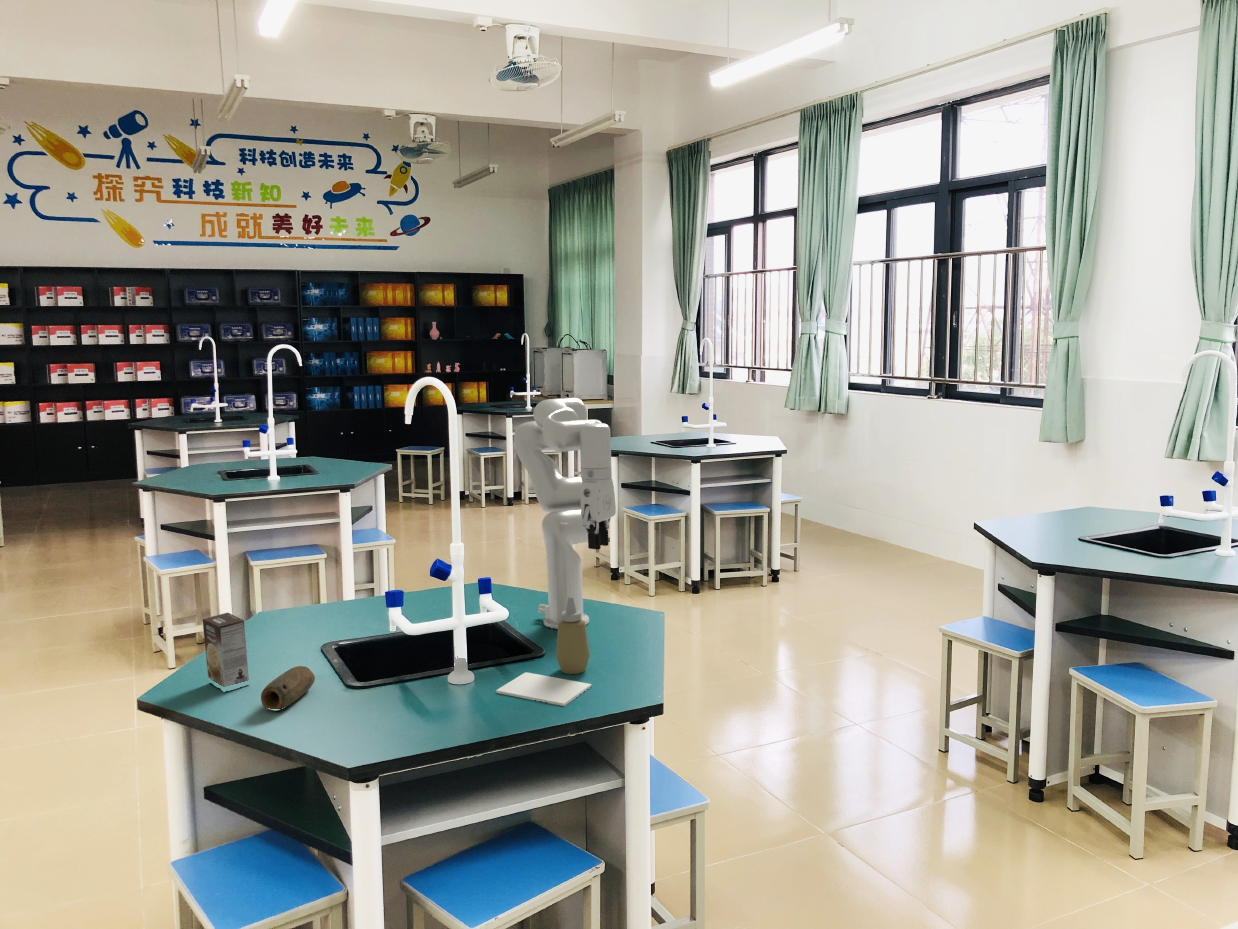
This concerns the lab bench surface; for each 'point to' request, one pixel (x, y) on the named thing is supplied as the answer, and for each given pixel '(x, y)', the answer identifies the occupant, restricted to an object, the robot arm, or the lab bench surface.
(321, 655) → the lab bench surface
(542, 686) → the mat
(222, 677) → the coffee box
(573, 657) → the squeeze bottle
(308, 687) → the brown hollow cylinder
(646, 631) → the lab bench surface
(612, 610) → the lab bench surface
